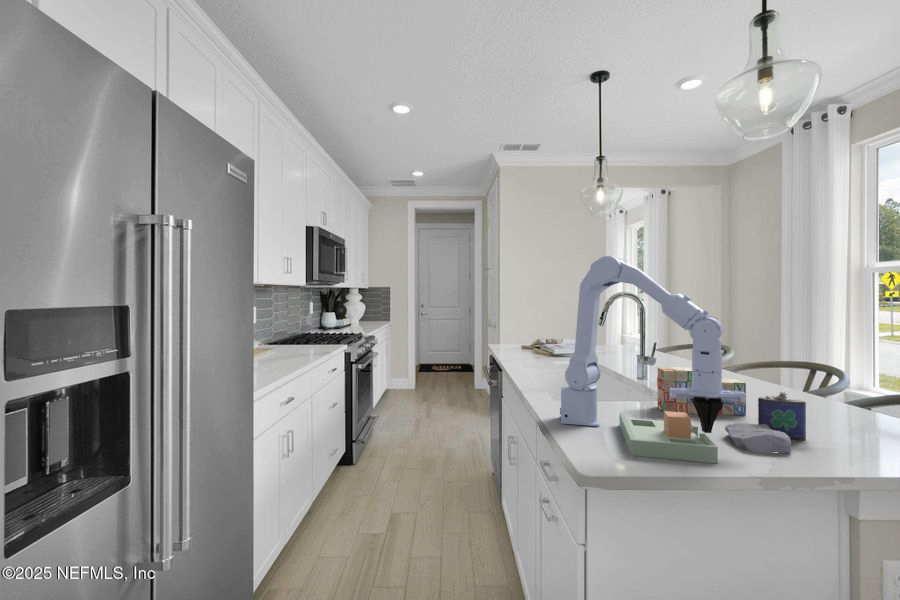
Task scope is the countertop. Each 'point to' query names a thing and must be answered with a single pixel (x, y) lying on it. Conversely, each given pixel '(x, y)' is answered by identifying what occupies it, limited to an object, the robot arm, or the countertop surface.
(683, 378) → the stack of blocks
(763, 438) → the stone block
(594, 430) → the countertop surface
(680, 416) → the block
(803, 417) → the flask
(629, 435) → the board
